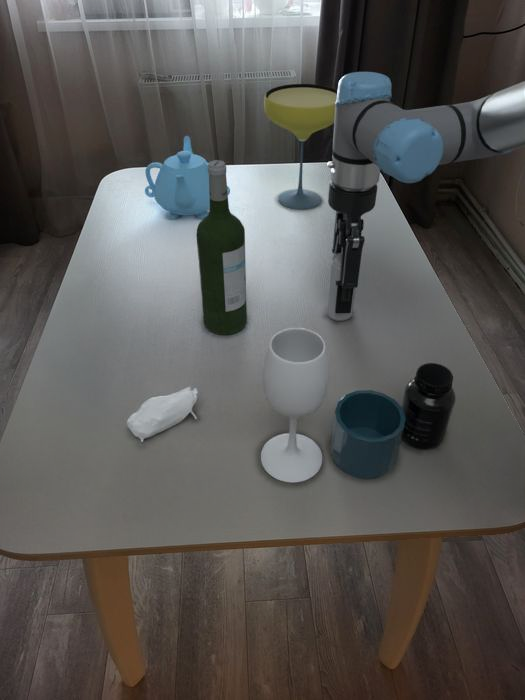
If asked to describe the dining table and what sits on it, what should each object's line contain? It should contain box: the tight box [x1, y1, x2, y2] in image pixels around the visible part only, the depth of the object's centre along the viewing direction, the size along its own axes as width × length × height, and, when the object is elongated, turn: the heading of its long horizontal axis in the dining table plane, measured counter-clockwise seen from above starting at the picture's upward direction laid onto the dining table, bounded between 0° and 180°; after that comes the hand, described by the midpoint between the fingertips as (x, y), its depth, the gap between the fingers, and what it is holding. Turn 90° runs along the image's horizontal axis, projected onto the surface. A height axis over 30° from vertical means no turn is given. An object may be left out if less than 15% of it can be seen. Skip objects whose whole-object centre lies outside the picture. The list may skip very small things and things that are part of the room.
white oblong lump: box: [126, 386, 199, 443], centre depth 82 cm, size 5×7×10 cm
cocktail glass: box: [263, 83, 338, 210], centre depth 132 cm, size 18×18×25 cm
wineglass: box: [260, 327, 330, 484], centre depth 72 cm, size 9×9×21 cm
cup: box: [330, 389, 406, 480], centre depth 77 cm, size 9×9×8 cm
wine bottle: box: [195, 159, 248, 336], centre depth 92 cm, size 8×8×30 cm
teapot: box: [144, 135, 231, 220], centre depth 132 cm, size 16×20×14 cm
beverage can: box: [326, 253, 357, 322], centre depth 100 cm, size 5×5×12 cm
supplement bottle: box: [400, 362, 456, 450], centre depth 78 cm, size 7×7×12 cm
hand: (340, 302), depth 102 cm, fingers open, 5 cm apart
